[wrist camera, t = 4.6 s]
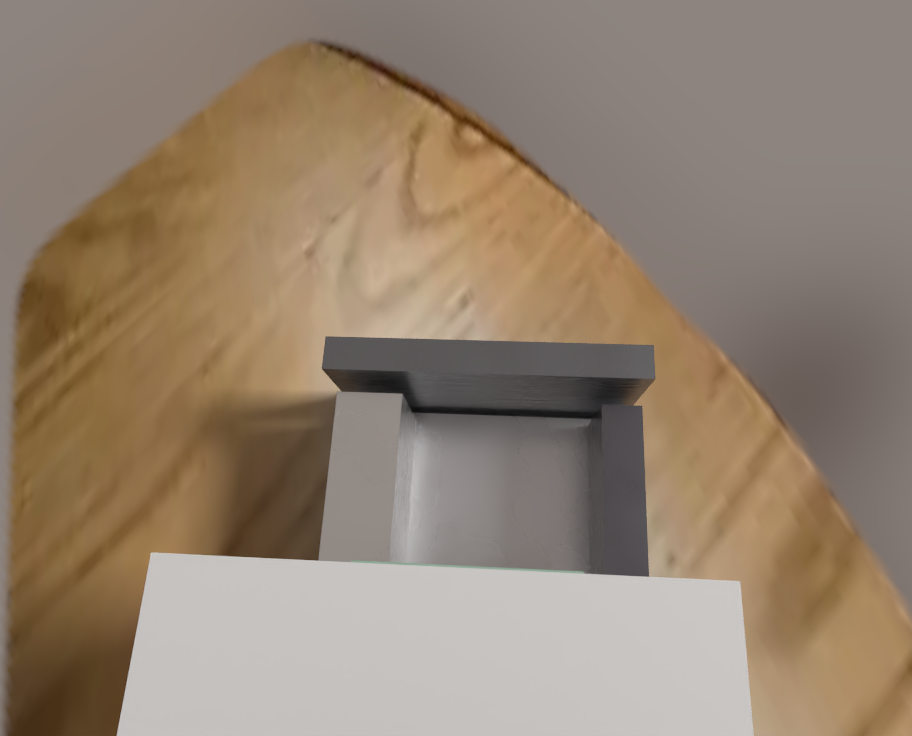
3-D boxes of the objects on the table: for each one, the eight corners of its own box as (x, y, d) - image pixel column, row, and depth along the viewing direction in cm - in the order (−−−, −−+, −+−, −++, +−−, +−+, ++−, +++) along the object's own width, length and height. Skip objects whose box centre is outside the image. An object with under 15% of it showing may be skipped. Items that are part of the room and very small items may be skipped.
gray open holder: (621, 625, 21) (667, 646, 15) (344, 609, 22) (291, 623, 16) (615, 396, 24) (653, 342, 18) (366, 388, 24) (325, 333, 19)
